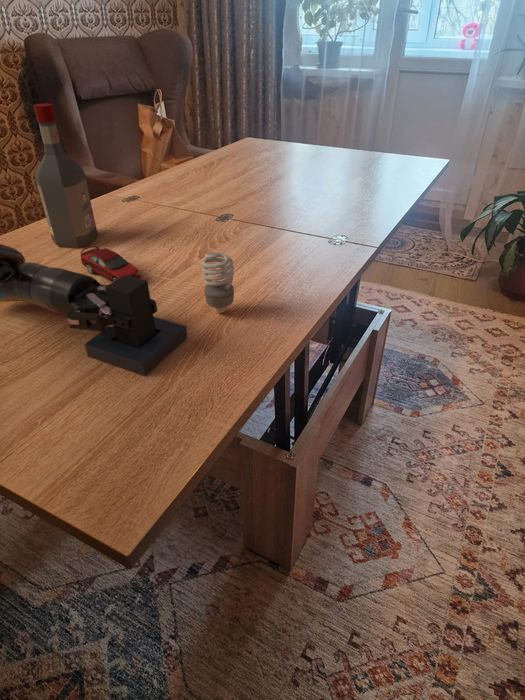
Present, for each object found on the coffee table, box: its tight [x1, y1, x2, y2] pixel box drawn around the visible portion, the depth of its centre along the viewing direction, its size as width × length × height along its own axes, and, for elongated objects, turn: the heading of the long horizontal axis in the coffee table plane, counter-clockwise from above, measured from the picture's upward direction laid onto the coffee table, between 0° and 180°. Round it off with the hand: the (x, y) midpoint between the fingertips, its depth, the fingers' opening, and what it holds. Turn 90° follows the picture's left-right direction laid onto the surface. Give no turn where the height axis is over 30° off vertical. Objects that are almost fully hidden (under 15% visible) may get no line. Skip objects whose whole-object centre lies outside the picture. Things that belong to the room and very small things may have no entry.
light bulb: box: [201, 251, 235, 314], centre depth 87 cm, size 6×6×12 cm
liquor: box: [32, 102, 99, 249], centre depth 109 cm, size 9×9×30 cm
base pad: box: [84, 316, 188, 377], centre depth 81 cm, size 12×12×2 cm
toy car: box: [80, 245, 142, 283], centre depth 101 cm, size 6×15×5 cm, turn 47°
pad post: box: [105, 275, 156, 349], centre depth 78 cm, size 5×5×12 cm
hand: (145, 315), depth 76 cm, fingers closed on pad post, 4 cm apart
